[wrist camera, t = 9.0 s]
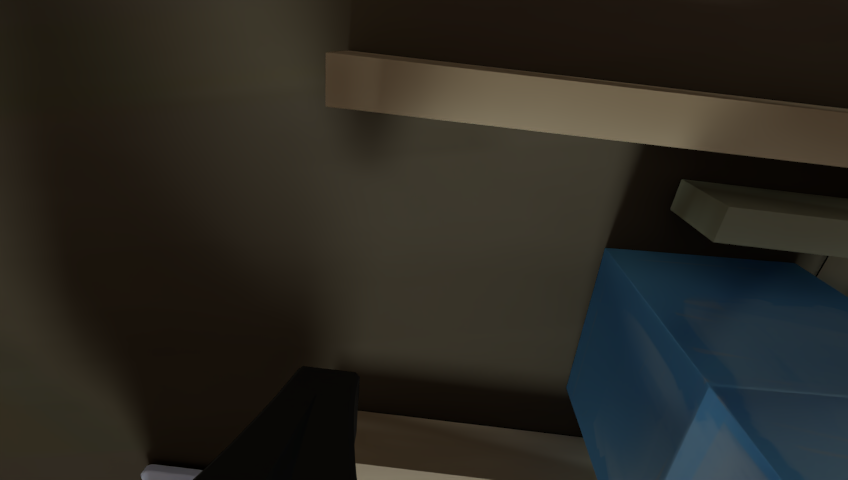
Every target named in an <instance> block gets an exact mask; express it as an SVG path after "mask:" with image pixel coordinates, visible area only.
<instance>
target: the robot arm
mask: <svg viewBox="0 0 848 480" xmlns="http://www.w3.org/2000/svg"><path fill="white" fill-rule="evenodd" d="M359 381H360V377H359V376H358V375H357V374H356V373H355V372H347V371H339V370H331V369H322V368H314V367H306V366H302V367H301V368H299V369H298V370H297V371H296V373H295V374H294V375H293V376H292V377H291V379H290V380H289V381H288V382H287V383H286V385H285V386H284V387H283V388H282V389H281V390H280V392H279V393H278V394H277V395H276V396H275V397H274V398H273V399H272V401H271V402H270V403H269V404H268V405H267V406H266V407H265V408H264V409H263V410H262V412H261V413H260V414H259V415H258V416H257V417H256V418H255V419H254V420H253V421H252V422H251V423H250V424H249V425H248V426H247V427H246V428H245V429H244V430H243V431H242V433H241V434H240V435H239V436H238V437H237V438H236V439H235V440H234V441H233V442H232V443H231V444H230V445H229V446H228V447H227V448H226V449H225V450H224V451H223V452H221V453H220V454H219V455H218V456H217V457H216V458H215V459H214V460H213V461H212V462H211V463H210V464H209V465H208V466H207V467H206V468H205V469H204V470H199V469H190V468H182V467H174V466H165V465H157V464H150V465H148V466H146V468H145V469H144V470H143V472H142V473H141V478H142V480H357V474H356V463H355V446H354V444H355V438H356V432H357V415H358V398H359Z"/></svg>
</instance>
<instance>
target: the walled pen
mask: <svg viewBox="0 0 848 480" xmlns="http://www.w3.org/2000/svg"><path fill="white" fill-rule="evenodd" d="M326 107H334V108H343V109H352V110H360V111H369V112H377V113H386V114H394V115H403V116H411V117H420V118H428V119H437V120H445V121H454V122H462V123H471V124H479V125H488V126H496V127H505V128H514V129H522V130H531V131H539V132H548V133H556V134H565V135H573V136H582V137H590V138H599V139H607V140H616V141H624V142H633V143H641V144H650V145H659V146H667V147H676V148H684V149H693V150H701V151H710V152H718V153H727V154H735V155H744V156H752V157H761V158H769V159H778V160H786V161H795V162H804V163H812V164H821V165H829V166H838V167H846V168H848V109H846V108H838V107H829V106H821V105H812V104H804V103H795V102H786V101H778V100H769V99H761V98H752V97H744V96H735V95H726V94H718V93H709V92H701V91H692V90H684V89H675V88H667V87H658V86H649V85H641V84H632V83H624V82H615V81H607V80H598V79H589V78H581V77H572V76H564V75H555V74H547V73H538V72H529V71H521V70H512V69H504V68H495V67H487V66H478V65H469V64H461V63H452V62H444V61H435V60H427V59H418V58H409V57H401V56H392V55H384V54H375V53H367V52H358V51H350V50H347V51H335V52H326ZM670 210H671V211H673V212H674V213H675V214H677V215H678V216H679V217H681V218H682V219H683V220H685V221H686V222H687V223H689V224H690V225H691V226H692V227H694V228H695V229H696V230H698V231H699V232H700V233H702V234H703V235H704V236H706V237H707V238H708V239H710V240H711V241H712V242H716V243H724V244H733V245H741V246H750V247H758V248H766V249H775V250H783V251H792V252H800V253H809V254H817V255H826V256H829V257H828V258H827V260H826V262H825V264H824V265H823V267H822V269H821V270H820V272H819V274H818V276H817V278H819V279H820V280H822V281H823V282H825V283H826V284H828V285H830V286H831V287H833V288H834V289H836V290H837V291H839V292H841V293H842V294H844V295H845V296H847V297H848V198H839V197H831V196H822V195H814V194H805V193H796V192H788V191H779V190H771V189H762V188H754V187H745V186H737V185H728V184H720V183H711V182H703V181H694V180H686V179H681V182H680V185H679V187H678V190H677V192H676V195H675V198H674V200H673V203H672V206H671V208H670ZM354 446H355V463H356V474H357V480H597V477H596V474H595V471H594V468H593V465H592V462H591V459H590V456H589V454H588V451H587V448H586V445H585V442H584V439H583V438H582V437H574V436H566V435H557V434H549V433H541V432H532V431H524V430H516V429H507V428H499V427H491V426H482V425H474V424H466V423H457V422H449V421H440V420H432V419H424V418H415V417H407V416H399V415H390V414H382V413H374V412H365V411H358V415H357V432H356V438H355V444H354Z"/></svg>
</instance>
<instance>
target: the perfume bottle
mask: <svg viewBox="0 0 848 480" xmlns="http://www.w3.org/2000/svg"><path fill="white" fill-rule="evenodd" d="M566 388H567V391H568V394H569V397H570V400H571V403H572V406H573V409H574V412H575V415H576V418H577V421H578V424H579V427H580V430H581V433H582V436H583V439H584V442H585V445H586V448H587V451H588V454H589V456H590V459H591V462H592V465H593V468H594V471H595V474H596V477H597V480H848V297H847V296H845V295H844V294H842V293H841V292H839V291H837V290H836V289H834V288H833V287H831V286H830V285H828V284H826V283H825V282H823V281H822V280H820V279H819V278H817V277H816V276H814V275H812V274H811V273H809V272H808V271H806V270H805V269H803V268H802V267H800V266H798V265H797V264H795V263H788V262H776V261H763V260H751V259H739V258H726V257H714V256H701V255H689V254H677V253H664V252H652V251H639V250H627V249H615V248H605V250H604V254H603V257H602V261H601V265H600V268H599V272H598V275H597V279H596V283H595V286H594V290H593V293H592V297H591V301H590V304H589V308H588V311H587V315H586V319H585V322H584V326H583V330H582V333H581V337H580V340H579V344H578V348H577V351H576V355H575V358H574V362H573V366H572V369H571V373H570V376H569V380H568V384H567V387H566Z"/></svg>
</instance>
